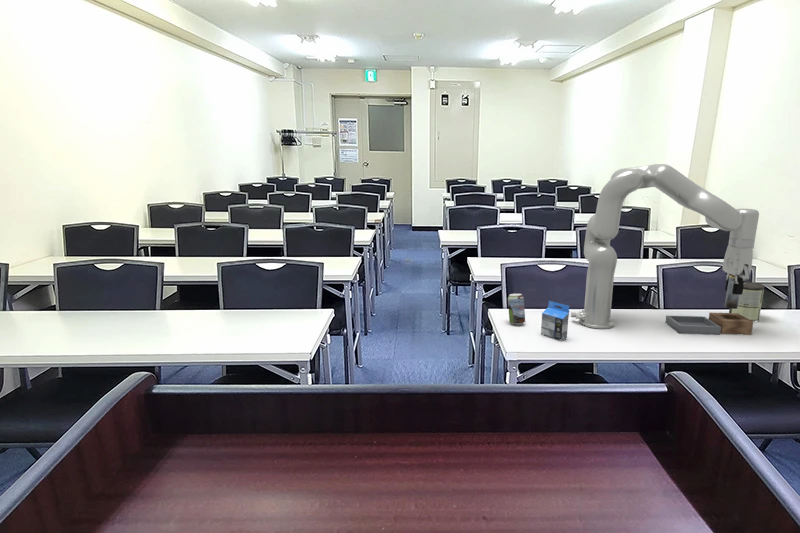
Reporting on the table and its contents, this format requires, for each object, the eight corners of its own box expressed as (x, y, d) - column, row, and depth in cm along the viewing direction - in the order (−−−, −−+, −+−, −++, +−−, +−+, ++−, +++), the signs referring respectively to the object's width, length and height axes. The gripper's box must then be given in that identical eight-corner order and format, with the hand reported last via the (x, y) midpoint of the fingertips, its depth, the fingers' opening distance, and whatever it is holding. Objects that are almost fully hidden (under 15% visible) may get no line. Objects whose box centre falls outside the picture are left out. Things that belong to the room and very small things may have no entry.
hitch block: (721, 333, 173) (723, 320, 172) (707, 324, 183) (709, 312, 182) (751, 334, 172) (753, 321, 171) (735, 325, 181) (737, 313, 180)
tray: (678, 333, 174) (679, 325, 173) (665, 322, 186) (666, 315, 185) (720, 334, 172) (721, 326, 172) (703, 323, 184) (704, 316, 183)
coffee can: (722, 314, 195) (726, 281, 192) (747, 314, 195) (752, 281, 192) (738, 322, 185) (744, 287, 182) (765, 322, 185) (771, 287, 182)
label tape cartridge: (540, 334, 174) (541, 302, 172) (546, 332, 177) (548, 300, 174) (561, 341, 167) (563, 307, 165) (567, 338, 170) (569, 305, 167)
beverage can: (519, 327, 181) (520, 297, 179) (503, 323, 187) (504, 293, 184) (528, 324, 185) (530, 294, 183) (512, 319, 191) (514, 290, 188)
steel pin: (728, 308, 174) (733, 276, 171) (722, 305, 178) (727, 274, 175) (739, 309, 173) (745, 277, 171) (733, 305, 177) (738, 274, 175)
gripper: (717, 239, 179) (710, 286, 183) (743, 247, 163) (735, 298, 167) (739, 240, 178) (731, 287, 182) (767, 247, 162) (758, 299, 166)
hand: (733, 292), depth 174 cm, fingers closed on steel pin, 4 cm apart
